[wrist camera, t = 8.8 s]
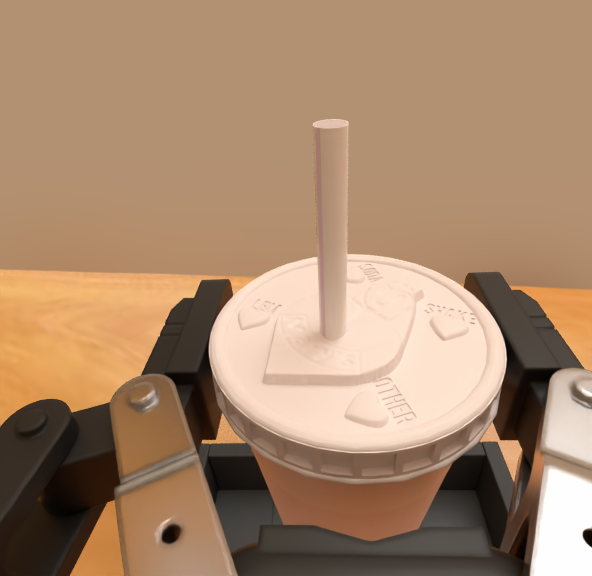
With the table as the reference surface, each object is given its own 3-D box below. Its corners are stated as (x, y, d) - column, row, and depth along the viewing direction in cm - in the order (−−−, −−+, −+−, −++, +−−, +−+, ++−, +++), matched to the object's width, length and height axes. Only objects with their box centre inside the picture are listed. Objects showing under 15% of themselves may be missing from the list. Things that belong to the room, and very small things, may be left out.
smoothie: (221, 529, 15) (91, 126, 7) (346, 428, 19) (351, 72, 11) (348, 719, 11) (369, 263, 3) (482, 546, 14) (660, 104, 6)
